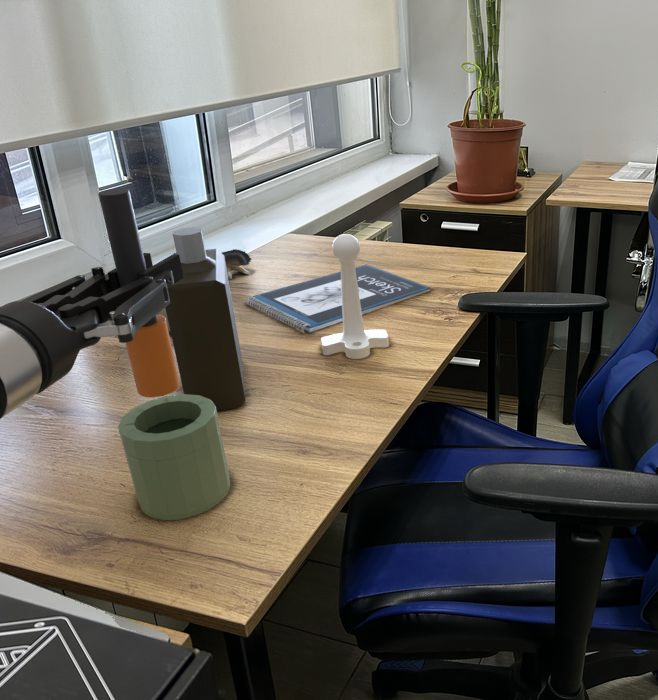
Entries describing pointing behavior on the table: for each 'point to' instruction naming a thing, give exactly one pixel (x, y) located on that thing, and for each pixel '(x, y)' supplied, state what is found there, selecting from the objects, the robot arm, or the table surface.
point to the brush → (153, 338)
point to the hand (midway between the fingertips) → (163, 265)
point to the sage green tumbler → (175, 456)
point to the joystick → (351, 308)
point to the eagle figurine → (236, 261)
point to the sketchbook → (334, 298)
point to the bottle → (205, 324)
